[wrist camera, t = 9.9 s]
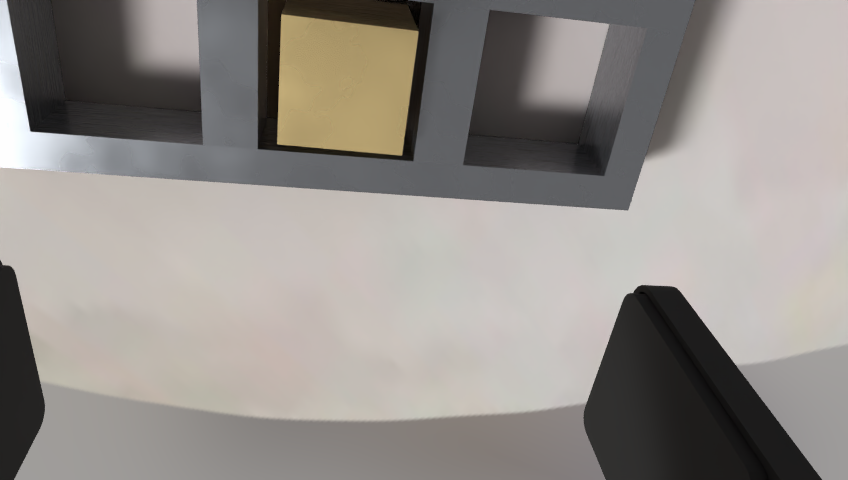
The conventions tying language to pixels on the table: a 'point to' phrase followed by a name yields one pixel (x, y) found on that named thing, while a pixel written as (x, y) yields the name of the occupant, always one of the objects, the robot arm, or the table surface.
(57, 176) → the table surface
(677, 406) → the robot arm
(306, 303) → the table surface
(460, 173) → the frame with square openings
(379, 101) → the tan wooden cube
